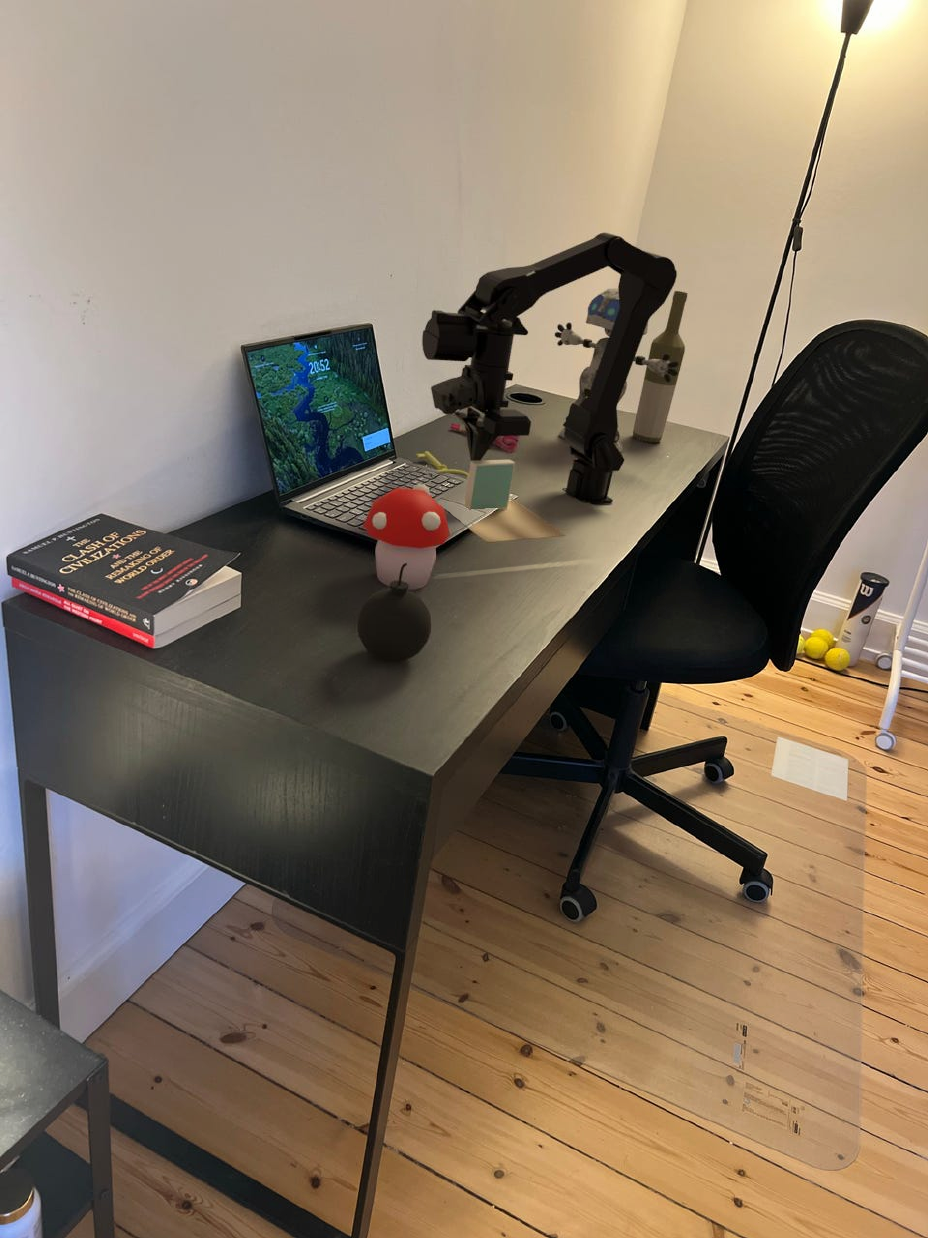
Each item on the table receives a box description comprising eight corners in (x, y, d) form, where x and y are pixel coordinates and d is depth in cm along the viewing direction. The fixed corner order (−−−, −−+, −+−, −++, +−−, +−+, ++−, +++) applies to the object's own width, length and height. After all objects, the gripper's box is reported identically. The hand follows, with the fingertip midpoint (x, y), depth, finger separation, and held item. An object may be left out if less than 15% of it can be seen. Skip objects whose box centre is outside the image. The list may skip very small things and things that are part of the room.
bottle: (623, 434, 201) (656, 287, 188) (647, 433, 205) (681, 289, 191) (645, 445, 196) (680, 294, 183) (669, 443, 200) (706, 296, 186)
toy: (447, 447, 186) (517, 462, 181) (437, 434, 181) (509, 450, 175) (459, 413, 187) (529, 427, 181) (450, 399, 182) (522, 414, 176)
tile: (501, 504, 150) (509, 459, 146) (507, 508, 148) (515, 462, 145) (463, 507, 146) (470, 460, 143) (468, 511, 145) (476, 464, 142)
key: (425, 461, 167) (426, 449, 166) (476, 484, 160) (477, 472, 159) (395, 467, 162) (396, 455, 161) (446, 490, 155) (448, 478, 154)
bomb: (349, 638, 105) (359, 539, 100) (419, 639, 108) (433, 542, 102) (358, 675, 99) (370, 571, 93) (432, 675, 101) (448, 573, 95)
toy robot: (517, 423, 197) (543, 272, 184) (556, 418, 205) (583, 273, 191) (633, 471, 178) (671, 307, 165) (670, 465, 186) (710, 307, 172)
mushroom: (411, 605, 115) (423, 513, 110) (340, 575, 120) (348, 485, 114) (458, 580, 123) (471, 493, 118) (390, 553, 128) (400, 468, 123)
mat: (509, 500, 154) (509, 496, 154) (565, 538, 142) (565, 535, 142) (433, 504, 147) (434, 500, 147) (485, 545, 135) (486, 542, 135)
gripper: (414, 345, 145) (402, 444, 152) (474, 378, 131) (458, 485, 138) (476, 347, 150) (462, 443, 157) (541, 379, 136) (522, 482, 143)
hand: (474, 462), depth 149 cm, fingers closed
